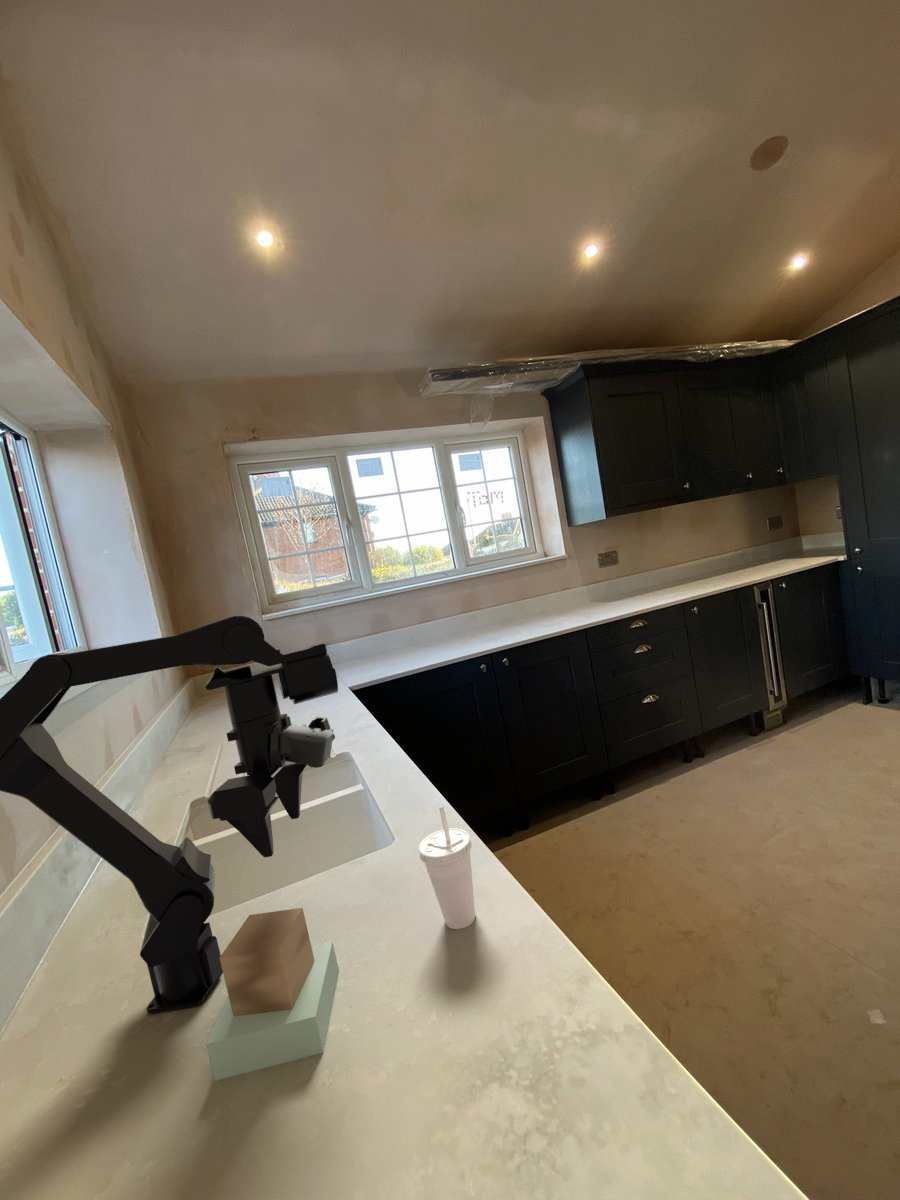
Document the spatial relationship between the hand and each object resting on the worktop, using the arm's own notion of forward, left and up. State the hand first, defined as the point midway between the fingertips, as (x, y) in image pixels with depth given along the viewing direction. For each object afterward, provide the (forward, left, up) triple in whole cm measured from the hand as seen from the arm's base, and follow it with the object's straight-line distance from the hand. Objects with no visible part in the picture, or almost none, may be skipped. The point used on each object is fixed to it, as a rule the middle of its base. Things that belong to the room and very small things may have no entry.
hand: (283, 835), depth 65 cm
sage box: (+2, -13, -14) cm, 19 cm away
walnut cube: (+2, -13, -10) cm, 16 cm away
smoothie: (+20, -2, -13) cm, 24 cm away
